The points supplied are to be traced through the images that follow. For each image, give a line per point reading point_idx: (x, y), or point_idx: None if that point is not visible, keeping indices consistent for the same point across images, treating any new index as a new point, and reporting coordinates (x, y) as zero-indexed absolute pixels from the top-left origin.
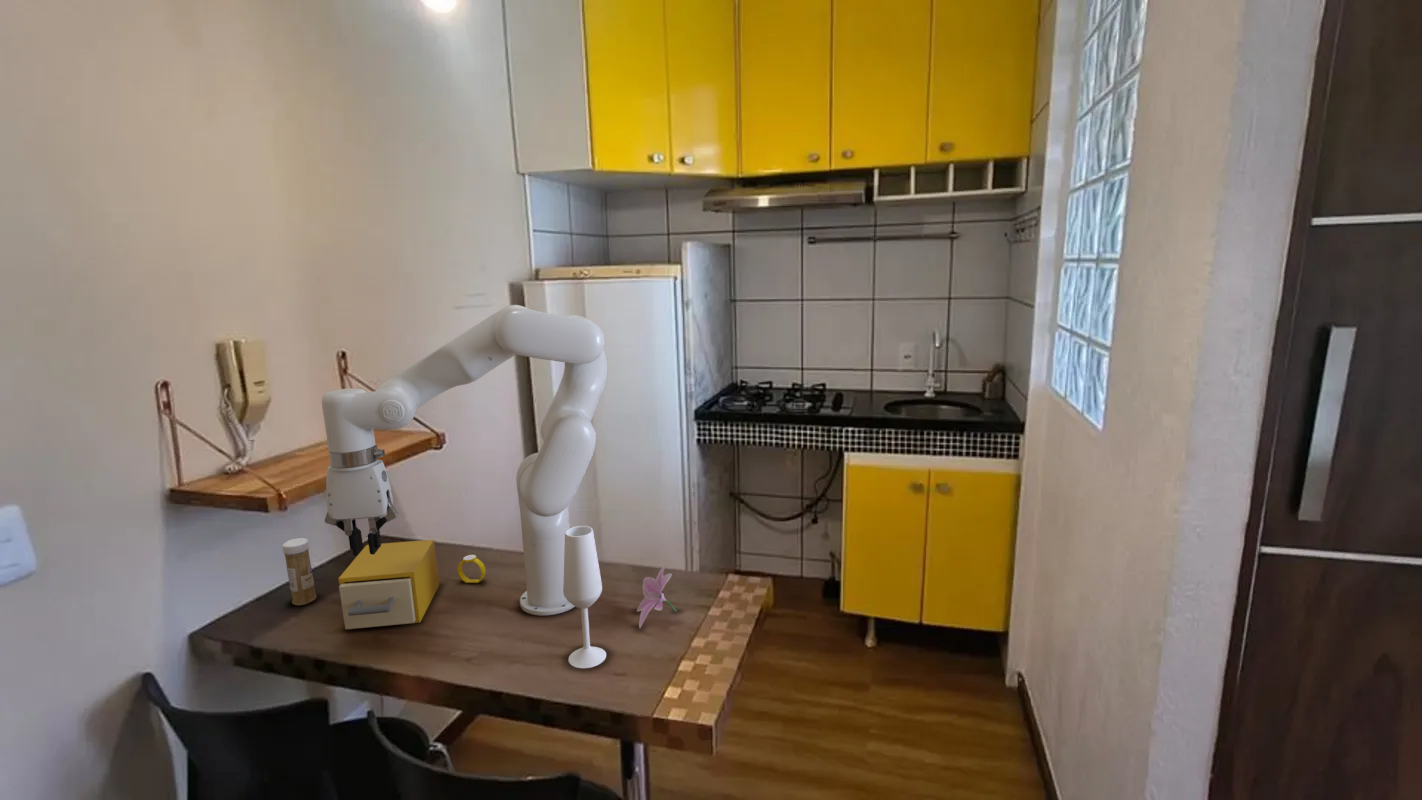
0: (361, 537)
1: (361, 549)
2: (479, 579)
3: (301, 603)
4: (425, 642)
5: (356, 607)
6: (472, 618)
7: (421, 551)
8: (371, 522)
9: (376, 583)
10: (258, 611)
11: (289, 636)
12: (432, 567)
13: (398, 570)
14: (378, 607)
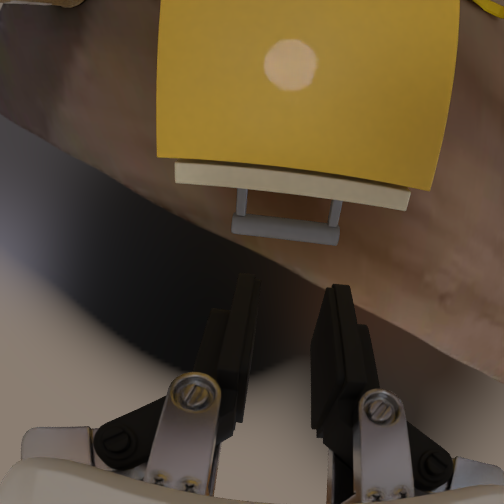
0: (253, 332)
1: (258, 302)
2: (494, 13)
3: (74, 5)
4: (389, 228)
5: (250, 228)
6: (474, 169)
7: (441, 3)
8: (344, 499)
9: (301, 193)
10: (18, 31)
11: (101, 126)
12: None
13: (378, 153)
14: (311, 241)
